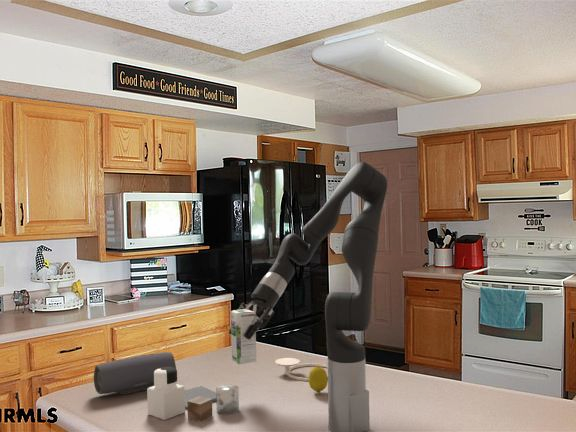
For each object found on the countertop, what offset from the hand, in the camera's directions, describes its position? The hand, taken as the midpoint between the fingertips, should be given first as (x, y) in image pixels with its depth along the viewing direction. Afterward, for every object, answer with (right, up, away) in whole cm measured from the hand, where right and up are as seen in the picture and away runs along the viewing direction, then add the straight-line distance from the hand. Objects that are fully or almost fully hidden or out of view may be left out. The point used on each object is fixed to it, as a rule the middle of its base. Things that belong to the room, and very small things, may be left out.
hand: (238, 335), depth 157 cm
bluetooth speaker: (-32, -18, +9) cm, 38 cm away
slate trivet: (-13, -18, 0) cm, 22 cm away
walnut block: (-9, -18, -13) cm, 24 cm away
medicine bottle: (-18, -19, -11) cm, 28 cm away
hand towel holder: (+20, -18, +22) cm, 35 cm away
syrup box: (+2, -8, +1) cm, 8 cm away
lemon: (+23, -17, +3) cm, 29 cm away
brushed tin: (-2, -18, -9) cm, 20 cm away
